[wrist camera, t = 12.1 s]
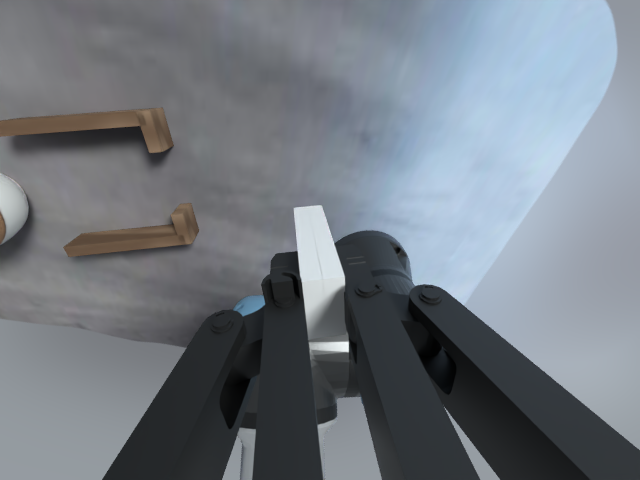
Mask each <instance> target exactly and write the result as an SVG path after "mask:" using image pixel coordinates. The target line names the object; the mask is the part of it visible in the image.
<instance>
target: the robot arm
mask: <svg viewBox="0 0 640 480" xmlns="http://www.w3.org/2000/svg"><path fill="white" fill-rule="evenodd" d="M294 216H295V227H296V238H297V248H298V251H295V252H286V253H277V254H275V256H274V257H273V258H272V260H271V270H270V274H269V275H267V276H266V277H265V278H264V279H263V281H262V284H261V286H262V291H263V295H255V296H247V297H245V298H243V299H241V300H240V301H239V302H238V303H237V304H236V306H235V307H234V309H233V310H223V311H220V312H217V313H214V314H213V315H211V316H210V317H208V318H207V319H206V320H205V321H204V323H203V324H202V325H201V327H200V328H199V330H198V331H197V333H196V335H195V336H194V338H193V339H192V341H191V342H190V344H189V345H188V347H187V349H186V350H185V352H184V353H183V355H182V357H181V358H180V360H179V361H178V363H177V364H176V366H175V367H174V369H173V370H172V372H171V374H170V375H169V377H168V378H167V380H166V381H165V383H164V384H163V386H162V388H161V389H160V390H159V392H158V394H157V395H156V397H155V398H154V400H153V402H152V403H151V405H150V406H149V408H148V410H147V411H146V412H145V414H144V416H143V417H142V418H141V420H140V422H139V423H138V425H137V426H136V428H135V430H134V431H133V433H132V434H131V436H130V437H129V439H128V440H127V442H126V443H125V445H124V447H123V448H122V450H121V451H120V453H119V454H118V456H117V457H116V459H115V460H114V462H113V464H112V465H111V467H110V468H109V470H108V471H107V473H106V474H105V476H104V478H103V479H102V480H222V478H223V475H224V472H225V469H226V466H227V463H228V460H229V457H230V455H231V451H232V449H233V446H234V443H235V440H236V437H237V436H238V437H239V438H240V439H241V442H242V454H241V471H240V480H325V463H324V437H325V435H326V433H327V432H328V431H329V430H330V428H331V427H332V426H333V424H334V423H335V422H336V421H337V398H343V397H361V401H362V404H363V405H364V409H365V413H366V417H367V421H368V425H369V429H370V433H371V437H372V441H373V445H374V449H375V453H376V457H377V461H378V465H379V468H380V473H381V477H382V480H480V478H479V476H478V474H477V472H476V470H475V469H474V466H473V464H472V462H471V460H470V458H469V456H468V454H467V452H466V450H465V448H464V446H463V444H462V442H461V440H460V438H459V436H458V434H457V432H456V430H455V428H454V426H453V425H452V422H451V421H450V418H449V416H448V414H447V412H446V410H445V408H446V409H447V410H448V412H449V413H450V415H451V416H452V417H453V419H454V420H455V421H456V422H457V424H458V425H459V426H460V428H461V429H462V430H463V432H464V433H465V434H466V435H467V437H468V438H469V439H470V441H471V442H472V443H473V444H474V446H475V447H476V449H477V450H478V451H479V452H480V454H481V455H482V456H483V458H484V459H485V460H486V462H487V463H488V464H489V465H490V467H491V468H492V469H493V471H494V472H495V473H496V475H497V476H498V477H499V478H500V480H640V450H639V449H637V448H636V447H635V446H633V444H631V443H630V442H629V441H628V440H626V439H625V438H624V437H623V436H622V435H620V434H619V433H618V432H617V431H615V430H614V429H613V428H612V427H611V426H609V425H608V424H607V423H606V422H605V421H603V420H602V419H601V418H600V417H598V416H597V415H596V414H595V413H594V412H592V411H591V410H590V409H589V408H587V407H586V406H585V405H584V404H583V403H581V402H580V401H579V400H578V399H577V398H575V397H574V396H573V395H572V394H570V393H569V392H568V391H567V390H565V389H564V388H563V387H562V386H561V385H559V384H558V383H557V382H556V381H554V380H553V379H552V378H551V377H550V376H549V375H547V374H546V373H545V372H544V371H542V370H541V369H540V368H539V367H538V366H536V365H535V364H534V363H533V362H531V361H530V360H529V359H528V358H527V357H525V356H524V355H523V354H522V353H520V352H519V351H518V350H517V349H516V348H514V347H513V346H512V345H511V344H509V343H508V342H507V341H506V340H505V339H503V338H502V337H501V336H500V335H499V334H497V333H496V332H495V331H494V330H492V329H491V328H490V327H489V326H487V325H486V324H485V323H484V322H483V321H482V320H480V319H479V318H478V317H477V316H475V315H474V314H473V313H472V312H471V311H469V310H468V309H467V308H466V307H465V306H463V305H462V304H461V303H460V302H458V301H457V300H456V299H455V298H454V297H452V296H451V295H450V294H449V293H447V292H446V291H445V290H443V289H441V288H440V287H436V286H433V285H425V284H424V285H417V286H415V285H414V284H413V282H412V276H411V268H410V262H409V258H408V256H407V254H406V252H405V250H404V249H403V247H402V246H401V245H400V243H399V242H398V241H397V240H396V239H394V238H393V237H392V236H390V235H388V234H386V233H383V232H379V231H360V232H356V233H353V234H350V235H348V236H346V237H344V238H342V239H341V240H339V241H338V242H337V243H335V244H334V242H333V239H332V236H331V233H330V230H329V227H328V223H327V220H326V217H325V214H324V211H323V208H322V205H318V206H308V207H298V208H294ZM444 407H445V408H444Z"/></svg>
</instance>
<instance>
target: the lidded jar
mask: <svg viewBox="0 0 640 480" xmlns="http://www.w3.org/2000/svg"><path fill="white" fill-rule="evenodd" d="M28 212H29V206H28V202H27V196H26V194H25V192H24V190H23V189H22V187H21V186H20V185H19V184H18V183H17V182H16V181H14V180H13V179H12V178H10V177H8V176H7V175H5V174H2V173H0V245H1V244H3V243H4V242H6V241H7V240H9V239H10V238H12V237H13V236H14V235H15V234H16V233H17V232H18V231H19V230H20V229H21V228H22V227H23V226H24V224H25V222H26V220H27V217H28Z"/></svg>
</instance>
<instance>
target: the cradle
mask: <svg viewBox="0 0 640 480" xmlns="http://www.w3.org/2000/svg"><path fill="white" fill-rule="evenodd" d="M131 126H140V127H141V130H142V133H143V136H144V139H145V141H146V144H147V147H148V150H149V153H155V152H163V151H165V150H167V149H169V148H170V147H172V146H174V145H173V141H172V138H171V135H170V131H169V128H168V124H167V121H166V118H165V114H164V111H163V108H151V109H138V110H124V111H110V112H97V113H83V114H69V115H55V116H42V117H28V118H17V119H9V120H2V121H0V137H1V136H14V135H27V134H40V133H53V132H66V131H79V130H92V129H105V128H118V127H131ZM171 218H172V220H173V223H174V224H171V225H161V226H152V227H142V228H132V229H122V230H112V231H102V232H93V233H83V234H81V235H79V236H78V237H76V238H75V239H74V240H72V241H71V242H70V243H68V244H67V245H66V246H64V247H63V248H64V250H65V251H66V253H67V255H68V257H72V256H82V255H91V254H100V253H110V252H119V251H129V250H138V249H147V248H157V247H166V246H175V245H185V244H192V243H193V241H194V239H195V237H196V236H197V234H198V232H199V229H198V225H197V222H196V219H195V215H194V212H193V208H192V205H191V203H186V204H180V205H179V206H178V207H177V208H176V210H175V211H174V212H173V213H172V214H171Z"/></svg>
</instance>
